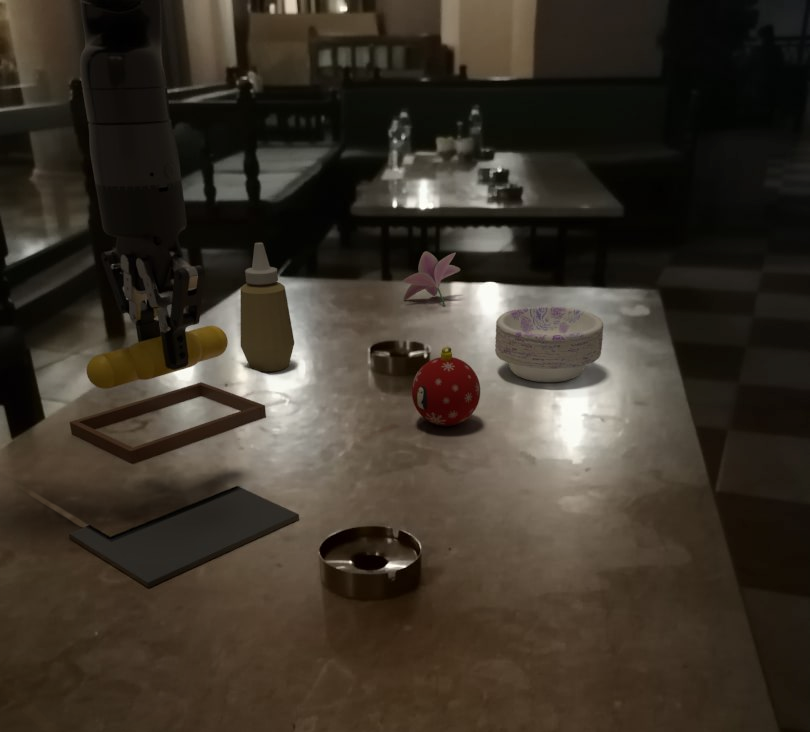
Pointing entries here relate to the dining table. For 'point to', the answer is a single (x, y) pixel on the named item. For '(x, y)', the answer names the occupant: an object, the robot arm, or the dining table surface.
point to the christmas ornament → (446, 390)
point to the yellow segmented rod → (152, 358)
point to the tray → (246, 414)
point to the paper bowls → (548, 342)
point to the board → (186, 535)
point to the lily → (430, 275)
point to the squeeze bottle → (265, 317)
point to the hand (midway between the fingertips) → (165, 362)
